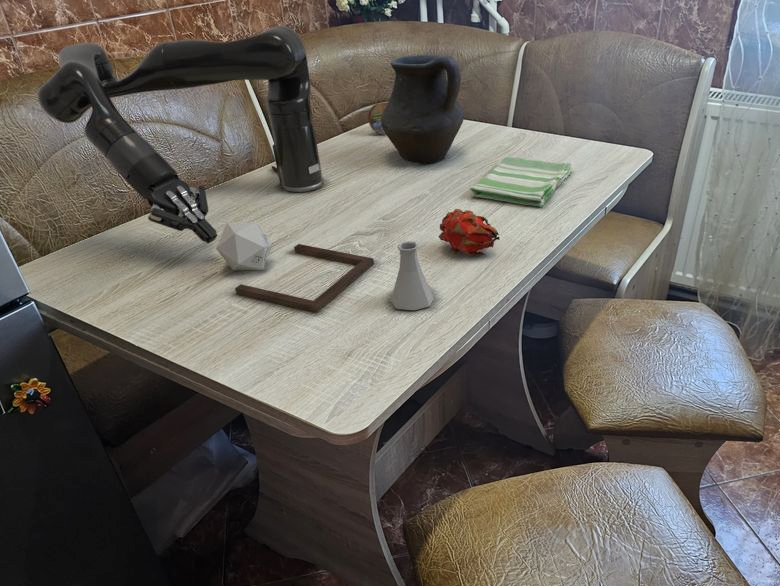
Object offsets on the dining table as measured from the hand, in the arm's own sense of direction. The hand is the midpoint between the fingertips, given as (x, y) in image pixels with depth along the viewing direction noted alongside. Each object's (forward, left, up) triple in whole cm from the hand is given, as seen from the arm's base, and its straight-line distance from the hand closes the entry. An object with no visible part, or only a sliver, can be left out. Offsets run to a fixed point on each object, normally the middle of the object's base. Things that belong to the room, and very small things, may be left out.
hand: (212, 239), depth 116 cm
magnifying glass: (-22, +79, -4) cm, 82 cm away
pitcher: (0, +65, -4) cm, 65 cm away
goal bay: (+19, +3, -4) cm, 20 cm away
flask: (+40, +7, -4) cm, 41 cm away
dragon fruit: (+38, +27, -4) cm, 47 cm away
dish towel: (+30, +61, -4) cm, 69 cm away
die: (+7, +1, -4) cm, 8 cm away
